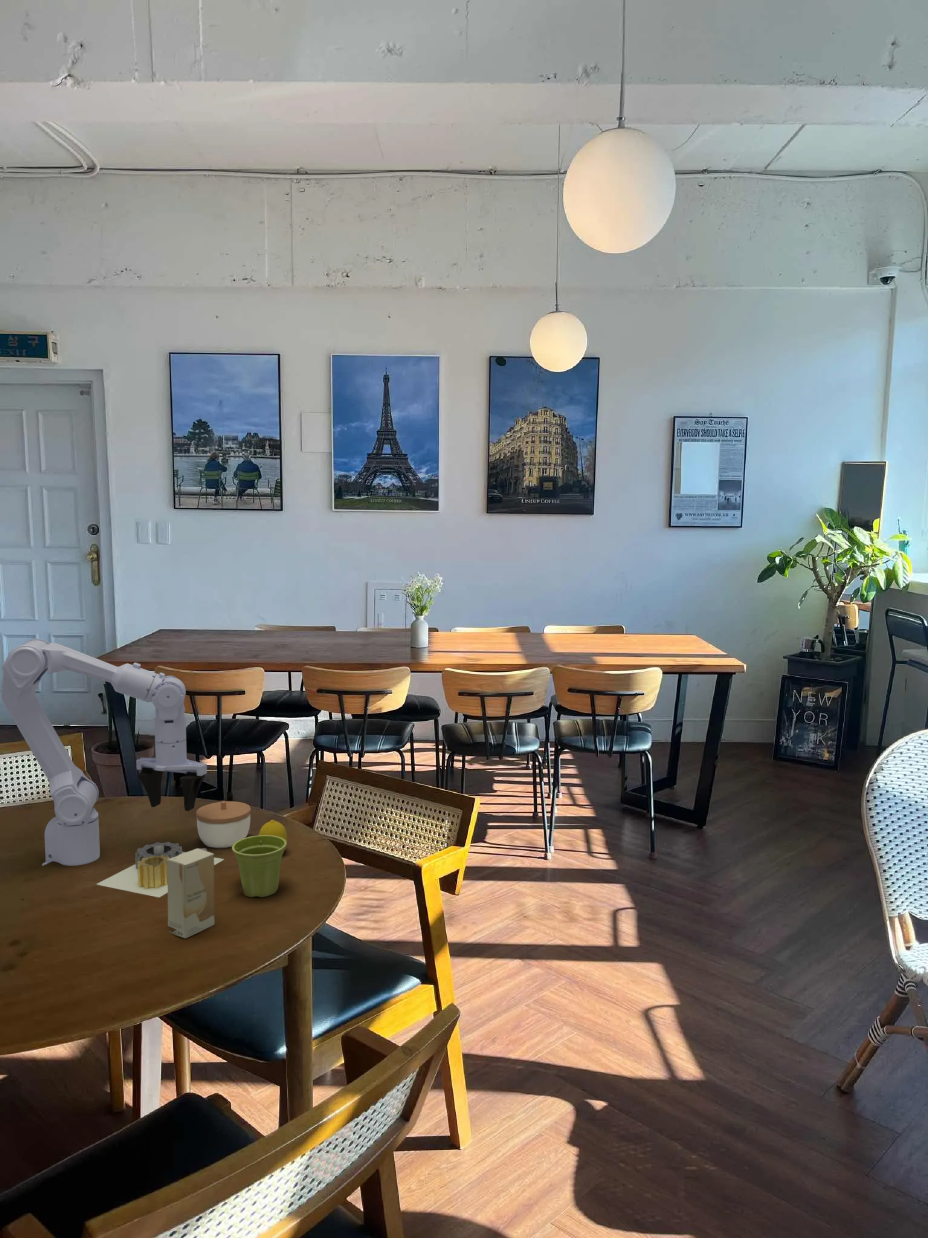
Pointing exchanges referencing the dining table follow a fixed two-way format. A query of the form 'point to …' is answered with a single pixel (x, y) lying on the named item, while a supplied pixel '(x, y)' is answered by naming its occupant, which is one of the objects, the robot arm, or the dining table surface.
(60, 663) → the robot arm
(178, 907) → the skincare box
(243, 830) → the lidded jar
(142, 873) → the brass gear
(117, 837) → the dining table surface
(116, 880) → the gear board
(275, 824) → the lemon
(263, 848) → the plant pot
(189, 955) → the dining table surface
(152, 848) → the gear
